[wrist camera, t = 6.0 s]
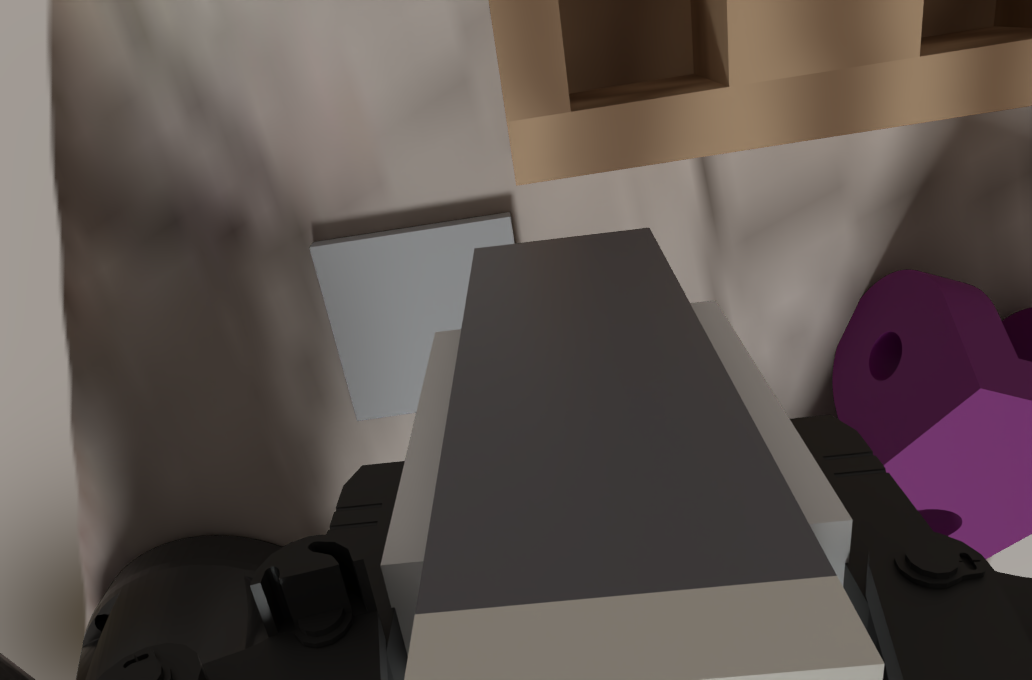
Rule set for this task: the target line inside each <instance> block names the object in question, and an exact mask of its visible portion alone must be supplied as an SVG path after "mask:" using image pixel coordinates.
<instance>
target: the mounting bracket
mask: <svg viewBox="0 0 1032 680" xmlns="http://www.w3.org/2000/svg"><path fill="white" fill-rule="evenodd" d="M832 384H833V397H834V402H835V407H836V411H837V416H838V419H839V420H840V421H842V422H843V423H845V424H847V425H848V426H850V427H852V428H853V429H855V430H857V431H858V433H859V434H860V435H861V436H862V438H863V439H864V440H865V442H866V443H867V444H868V446H869V447H870V448H871V450H872V451H873V455H876V456H877V458H878V459H879V460H880V462H881V463H882V464H883V465H884V467H885V468H886V473H890V475H891V476H892V477H893V479H894V480H895V481H896V483H897V484H898V485H899V487H900V488H901V489H902V491H903V492H904V493H905V494H906V496H907V497H908V498H909V500H910V501H911V502H912V504H913V505H914V506H915V508H916V509H917V510H918V512H919V513H920V514H921V516H922V517H923V518H924V520H925V521H926V522H927V524H928V525H929V526H930V527H931V529H932V530H933V531H934V532H936V533H941V534H943V535H946V536H949V537H951V538H954V539H957V540H959V541H962V542H964V543H965V544H967V545H968V546H970V547H971V548H973V549H974V550H976V551H977V552H979V553H980V554H982V556H983V557H984V558H985V559H987V558H989V557H991V556H992V555H994V554H996V553H998V552H1000V551H1001V550H1003V549H1005V548H1007V547H1009V546H1010V545H1012V544H1014V543H1016V542H1018V541H1020V540H1022V539H1023V538H1025V537H1027V536H1029V535H1030V534H1032V307H1031V308H1027V309H1024V310H1021V311H1019V312H1016V313H1014V314H1012V315H1011V316H1009V317H1007V318H1006V319H1004V320H1003V321H1001V319H1000V316H999V314H998V312H997V310H996V308H995V306H994V304H993V303H992V302H991V300H990V299H989V298H988V297H987V295H986V294H985V293H984V292H982V291H981V290H980V289H978V288H976V287H974V286H972V285H970V284H966V283H963V282H959V281H955V280H951V279H948V278H944V277H940V276H936V275H932V274H928V273H925V272H921V271H917V270H900V271H896V272H893V273H891V274H889V275H887V276H885V277H883V278H882V279H880V280H879V281H878V282H876V283H875V284H874V285H873V286H872V287H871V288H870V289H869V290H868V291H867V292H866V293H865V294H864V295H863V296H862V298H861V299H860V301H859V303H858V305H857V307H856V309H855V311H854V313H853V315H852V317H851V319H850V321H849V323H848V326H847V328H846V330H845V332H844V334H843V336H842V338H841V340H840V342H839V344H838V346H837V350H836V354H835V359H834V366H833V380H832Z"/></svg>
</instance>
